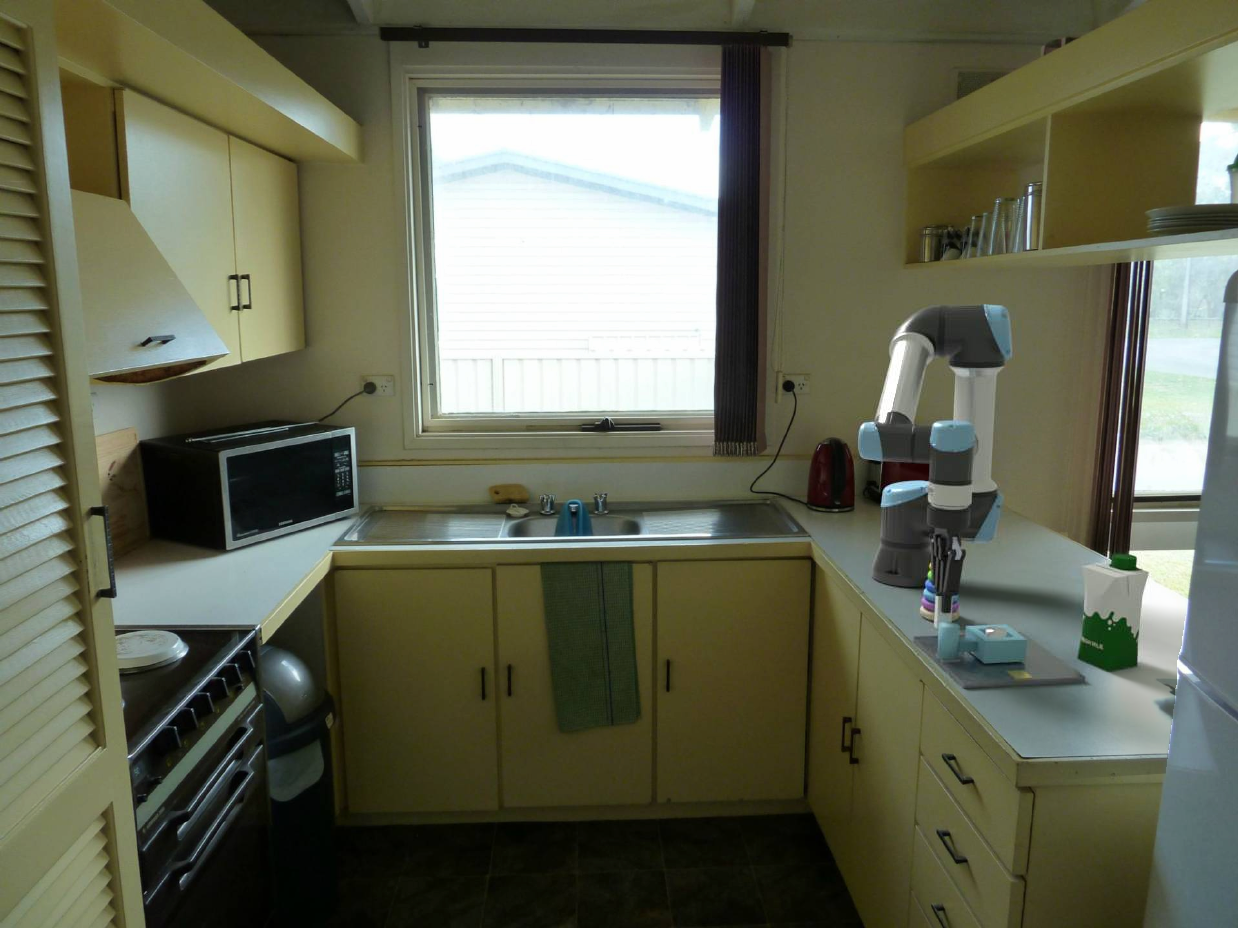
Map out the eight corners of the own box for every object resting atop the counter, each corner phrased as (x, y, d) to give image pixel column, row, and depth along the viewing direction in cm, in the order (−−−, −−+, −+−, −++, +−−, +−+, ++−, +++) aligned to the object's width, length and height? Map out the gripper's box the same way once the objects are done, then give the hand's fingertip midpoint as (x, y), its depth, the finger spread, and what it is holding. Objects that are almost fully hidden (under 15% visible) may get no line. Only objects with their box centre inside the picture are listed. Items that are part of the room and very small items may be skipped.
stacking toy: (921, 621, 191) (925, 534, 187) (918, 609, 198) (922, 525, 195) (961, 624, 189) (966, 536, 186) (956, 611, 197) (961, 526, 193)
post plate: (913, 641, 180) (914, 612, 179) (1020, 636, 182) (1022, 607, 181) (963, 688, 158) (965, 655, 157) (1085, 682, 160) (1087, 649, 159)
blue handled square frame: (929, 648, 173) (930, 618, 172) (1004, 645, 174) (1006, 615, 173) (947, 664, 165) (948, 633, 164) (1025, 661, 166) (1027, 629, 165)
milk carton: (1145, 667, 166) (1155, 561, 163) (1108, 674, 163) (1117, 567, 160) (1105, 650, 174) (1113, 548, 171) (1068, 657, 171) (1076, 554, 168)
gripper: (917, 498, 175) (911, 615, 179) (940, 513, 162) (934, 639, 166) (956, 497, 175) (950, 615, 179) (983, 512, 162) (975, 639, 166)
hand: (942, 627), depth 173 cm, fingers closed
